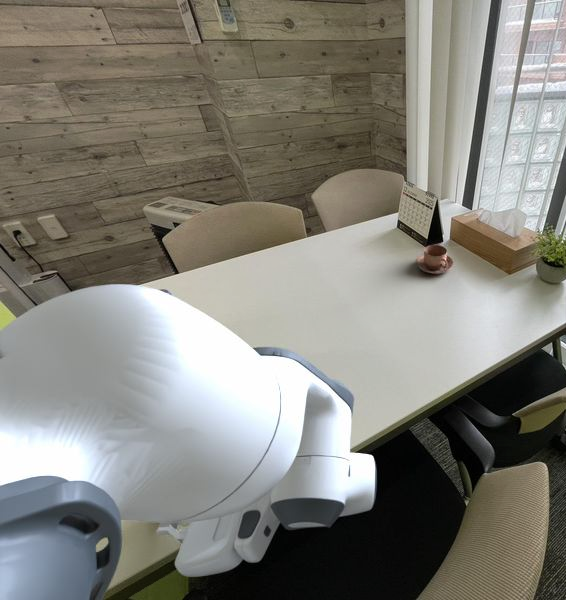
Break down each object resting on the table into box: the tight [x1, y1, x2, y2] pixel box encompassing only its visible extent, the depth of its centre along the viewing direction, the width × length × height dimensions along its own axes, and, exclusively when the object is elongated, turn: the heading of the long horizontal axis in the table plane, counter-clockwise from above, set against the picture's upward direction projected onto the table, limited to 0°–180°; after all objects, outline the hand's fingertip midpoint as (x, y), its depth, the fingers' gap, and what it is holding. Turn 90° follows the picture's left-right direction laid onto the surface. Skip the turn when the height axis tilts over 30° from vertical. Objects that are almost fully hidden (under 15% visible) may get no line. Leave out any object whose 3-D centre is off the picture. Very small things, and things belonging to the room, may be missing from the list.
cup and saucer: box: [416, 244, 454, 275], centre depth 106 cm, size 12×12×6 cm
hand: (177, 491), depth 49 cm, fingers open, 8 cm apart
